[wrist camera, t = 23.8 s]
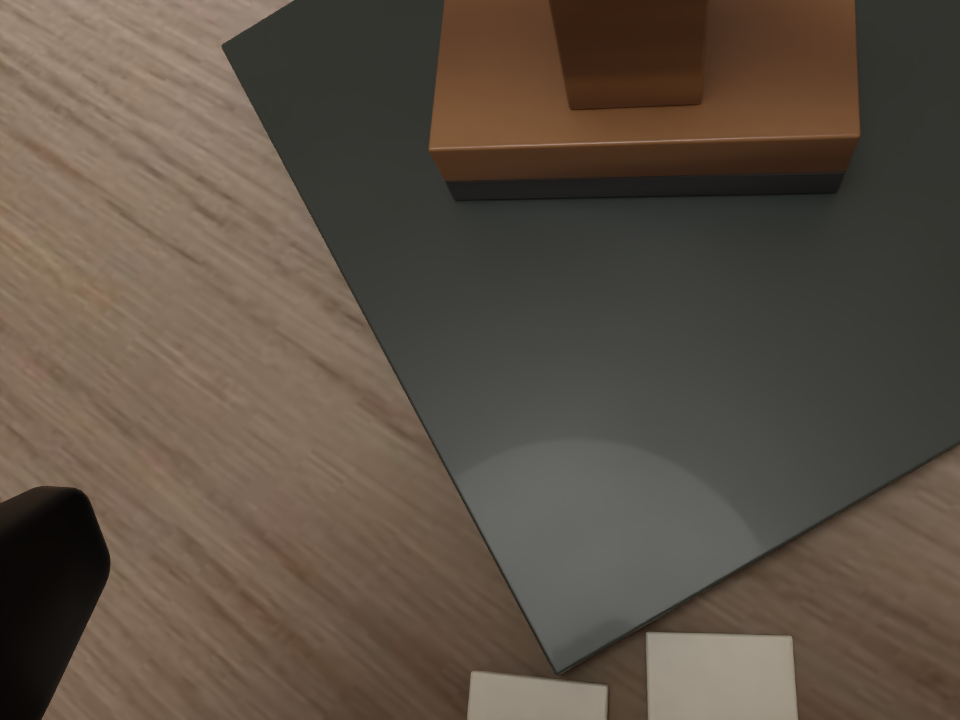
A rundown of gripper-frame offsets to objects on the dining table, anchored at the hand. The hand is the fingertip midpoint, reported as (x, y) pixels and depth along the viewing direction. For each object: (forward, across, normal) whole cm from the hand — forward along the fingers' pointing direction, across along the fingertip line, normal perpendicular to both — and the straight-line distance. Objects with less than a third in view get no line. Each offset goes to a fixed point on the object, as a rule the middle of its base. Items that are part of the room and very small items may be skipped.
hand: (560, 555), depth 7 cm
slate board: (+17, -1, +1) cm, 17 cm away
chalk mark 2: (+8, -2, +11) cm, 13 cm away
